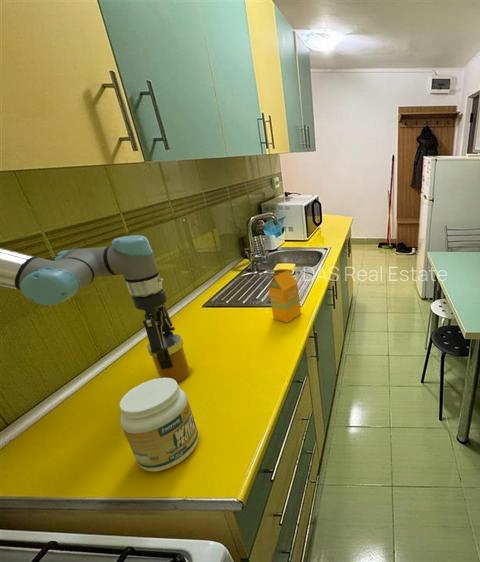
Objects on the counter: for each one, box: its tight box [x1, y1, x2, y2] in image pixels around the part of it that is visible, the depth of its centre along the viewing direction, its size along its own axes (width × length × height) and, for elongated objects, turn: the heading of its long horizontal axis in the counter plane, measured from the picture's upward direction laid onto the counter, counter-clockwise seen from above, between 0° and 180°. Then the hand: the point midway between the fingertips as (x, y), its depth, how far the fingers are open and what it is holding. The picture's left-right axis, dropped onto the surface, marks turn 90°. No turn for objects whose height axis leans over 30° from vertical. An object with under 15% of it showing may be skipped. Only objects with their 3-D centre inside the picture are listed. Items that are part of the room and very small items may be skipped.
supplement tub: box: [119, 377, 199, 472], centre depth 68 cm, size 12×12×17 cm
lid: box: [146, 333, 184, 358], centre depth 91 cm, size 9×9×2 cm
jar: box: [151, 345, 191, 384], centre depth 93 cm, size 8×8×12 cm
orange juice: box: [268, 268, 302, 324], centre depth 126 cm, size 8×9×20 cm
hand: (170, 358), depth 93 cm, fingers closed on lid, 9 cm apart
